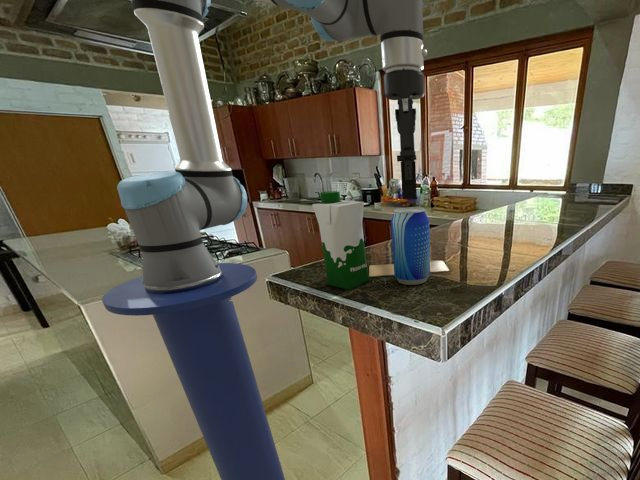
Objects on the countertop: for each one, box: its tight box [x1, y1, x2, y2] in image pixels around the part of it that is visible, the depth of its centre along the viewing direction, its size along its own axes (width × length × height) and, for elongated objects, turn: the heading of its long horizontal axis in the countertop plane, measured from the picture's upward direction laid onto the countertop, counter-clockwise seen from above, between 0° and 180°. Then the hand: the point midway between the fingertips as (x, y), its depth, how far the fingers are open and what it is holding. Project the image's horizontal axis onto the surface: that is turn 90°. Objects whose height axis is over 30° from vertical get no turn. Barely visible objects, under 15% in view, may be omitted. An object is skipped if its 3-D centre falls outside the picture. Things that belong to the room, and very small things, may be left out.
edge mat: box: [368, 260, 450, 278], centre depth 87 cm, size 20×9×1 cm, turn 98°
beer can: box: [390, 207, 431, 286], centre depth 75 cm, size 8×8×16 cm
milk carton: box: [312, 190, 370, 290], centre depth 74 cm, size 9×9×20 cm
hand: (409, 195), depth 70 cm, fingers open, 13 cm apart
